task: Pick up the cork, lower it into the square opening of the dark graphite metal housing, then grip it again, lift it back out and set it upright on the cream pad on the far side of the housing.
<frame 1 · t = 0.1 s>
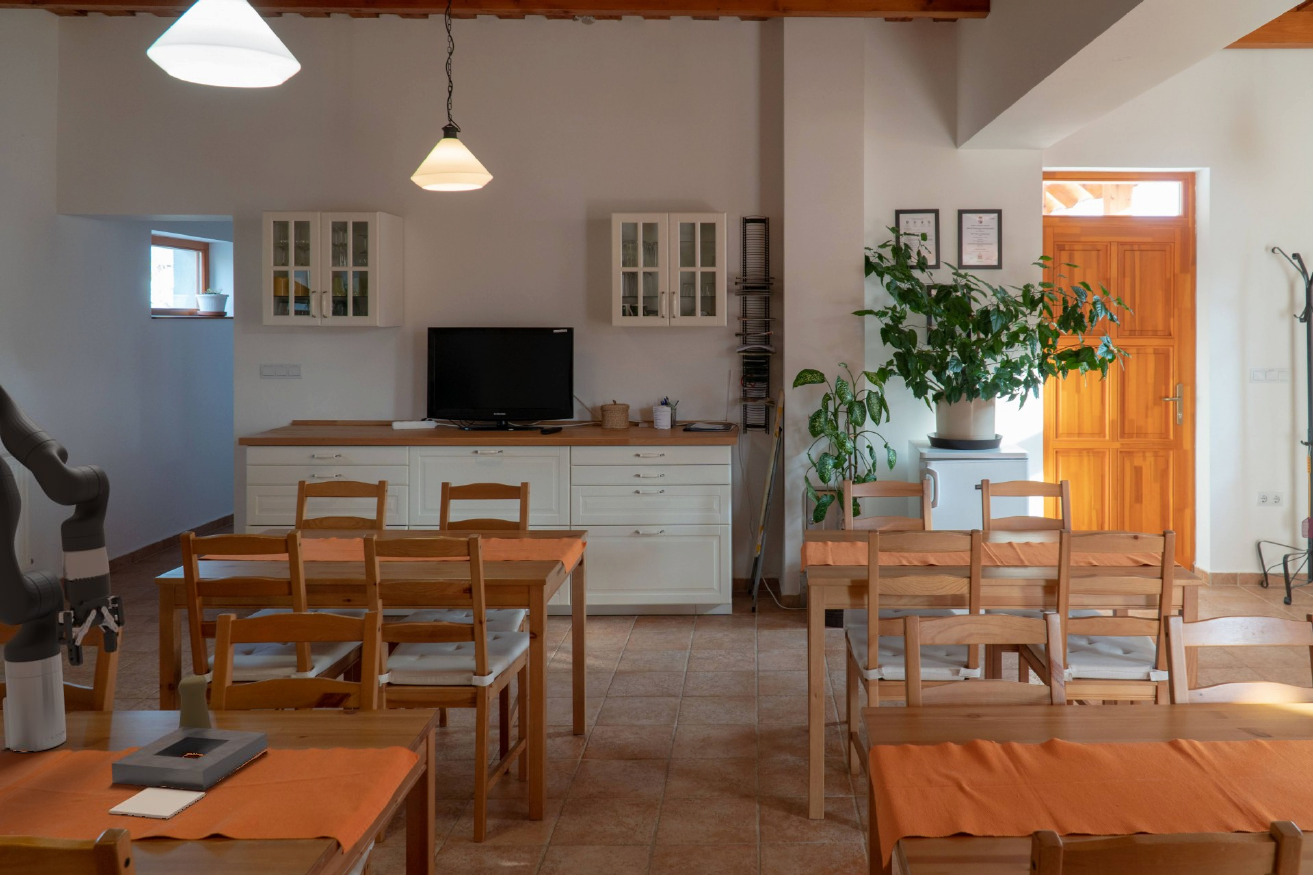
hand: (94, 658, 192), 17 cm above the table, tool pointing down, fingers open, 8 cm apart
housing: (192, 766, 184), on the table
cork: (195, 734, 201), on the table
pad: (158, 804, 168), on the table
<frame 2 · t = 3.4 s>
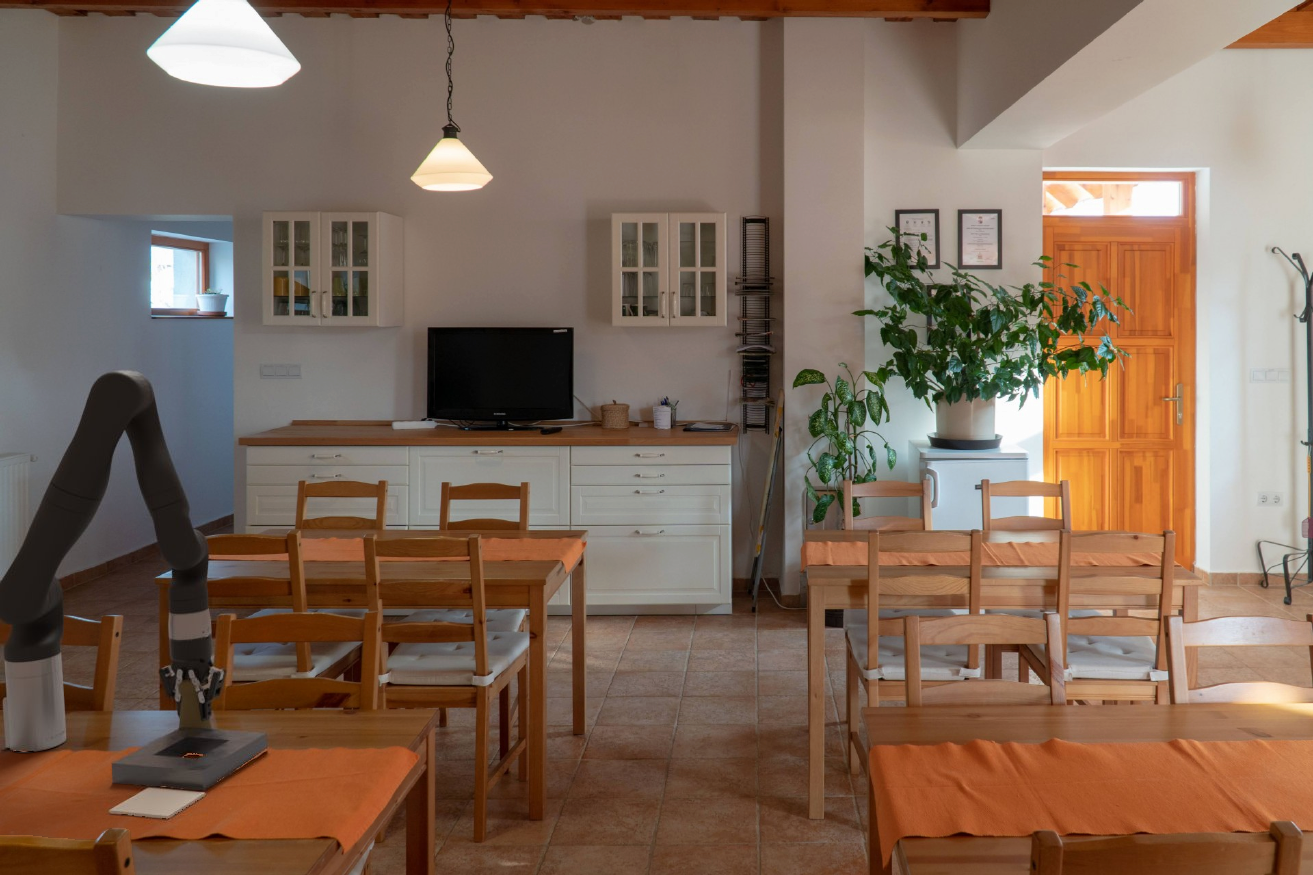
hand: (195, 719, 201), 3 cm above the table, tool pointing down, fingers closed on cork, 4 cm apart
cork: (195, 733, 201), on the table, touching gripper
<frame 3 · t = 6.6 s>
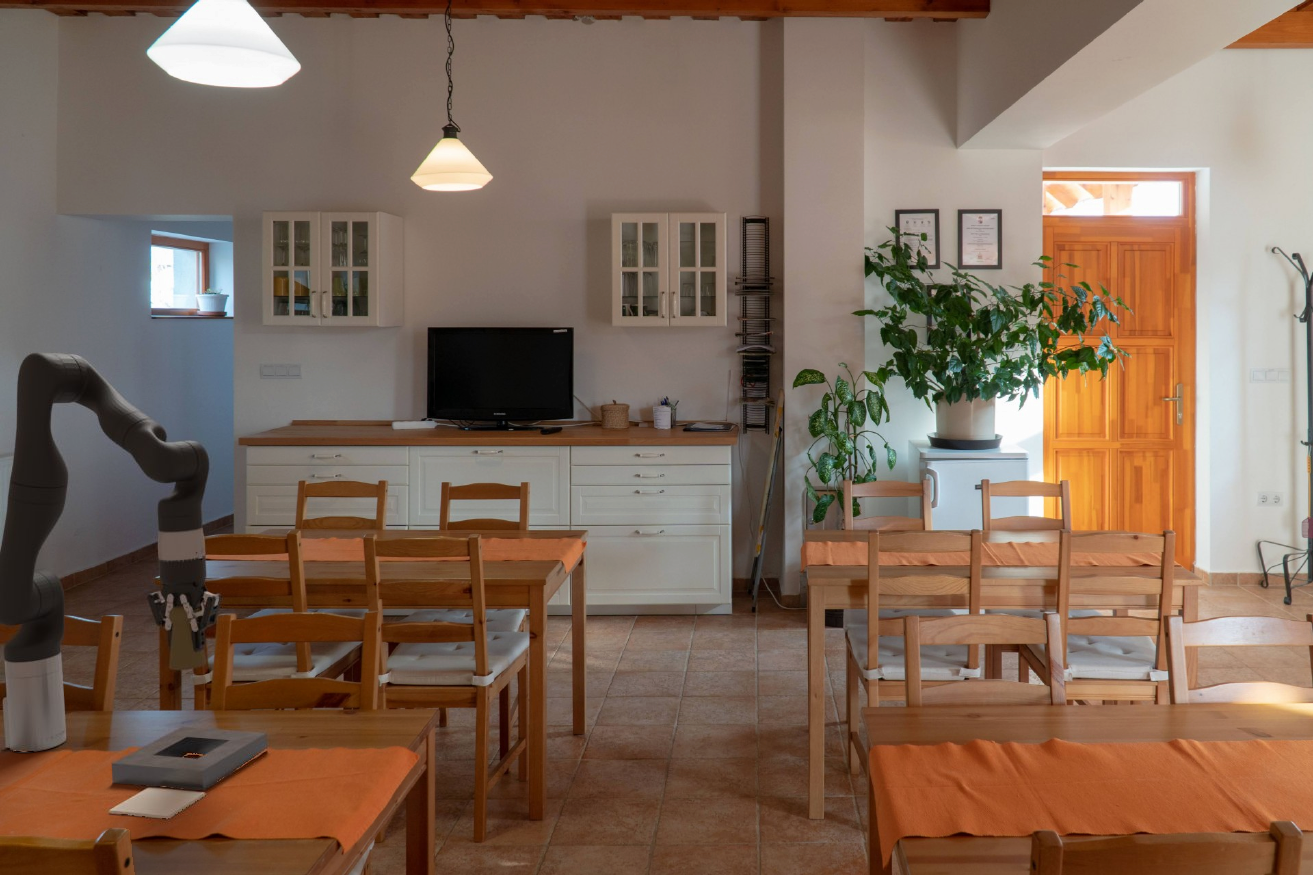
hand: (187, 649, 183), 21 cm above the table, tool pointing down, fingers closed on cork, 4 cm apart
cork: (187, 666, 183), point 18 cm above the table, touching gripper
when the fingers open (5 cm above the table, at t = 10.1 s): cork drops 2 cm, resting in housing.
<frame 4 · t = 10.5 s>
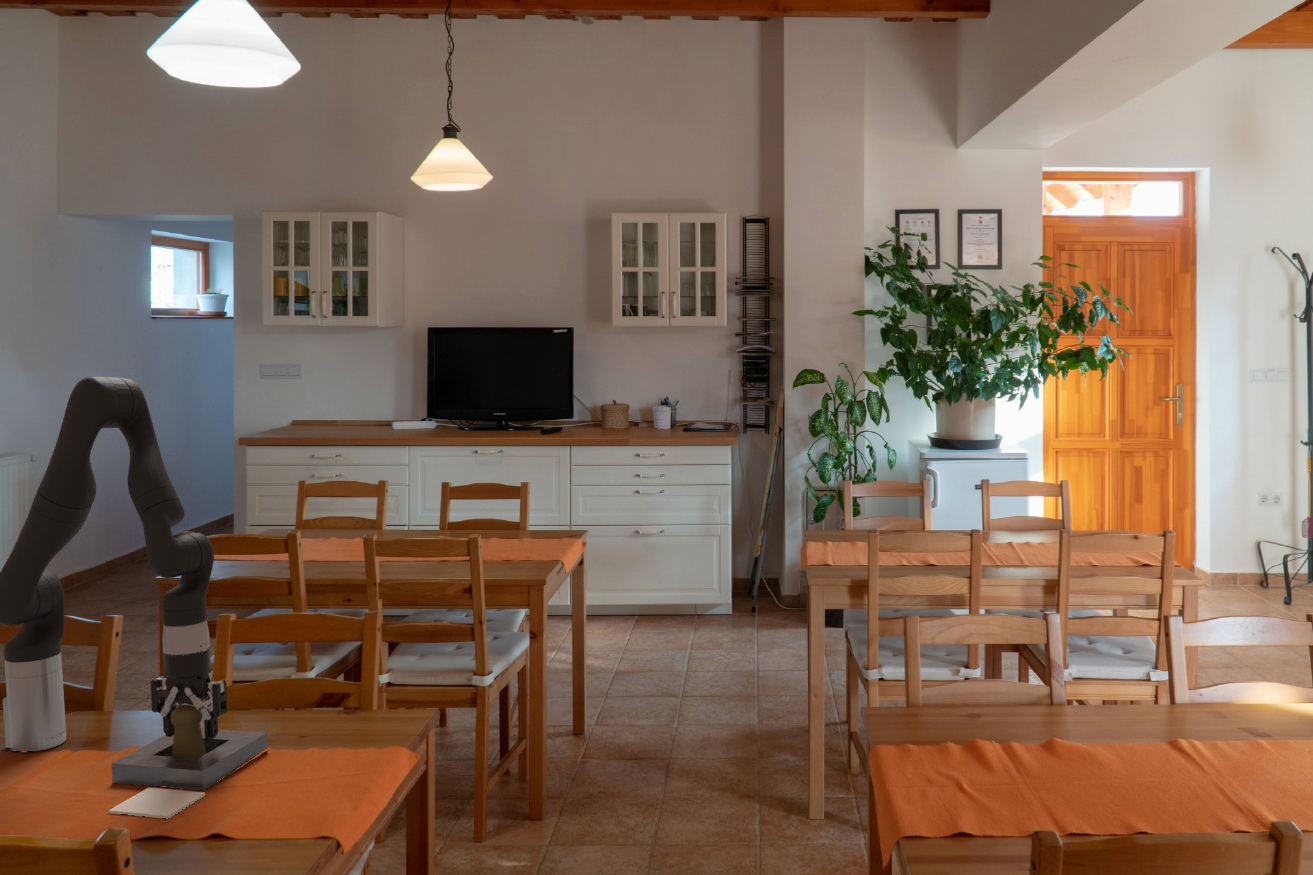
hand: (191, 736, 184), 5 cm above the table, tool pointing down, fingers open, 7 cm apart
cork: (189, 767, 184), resting in housing
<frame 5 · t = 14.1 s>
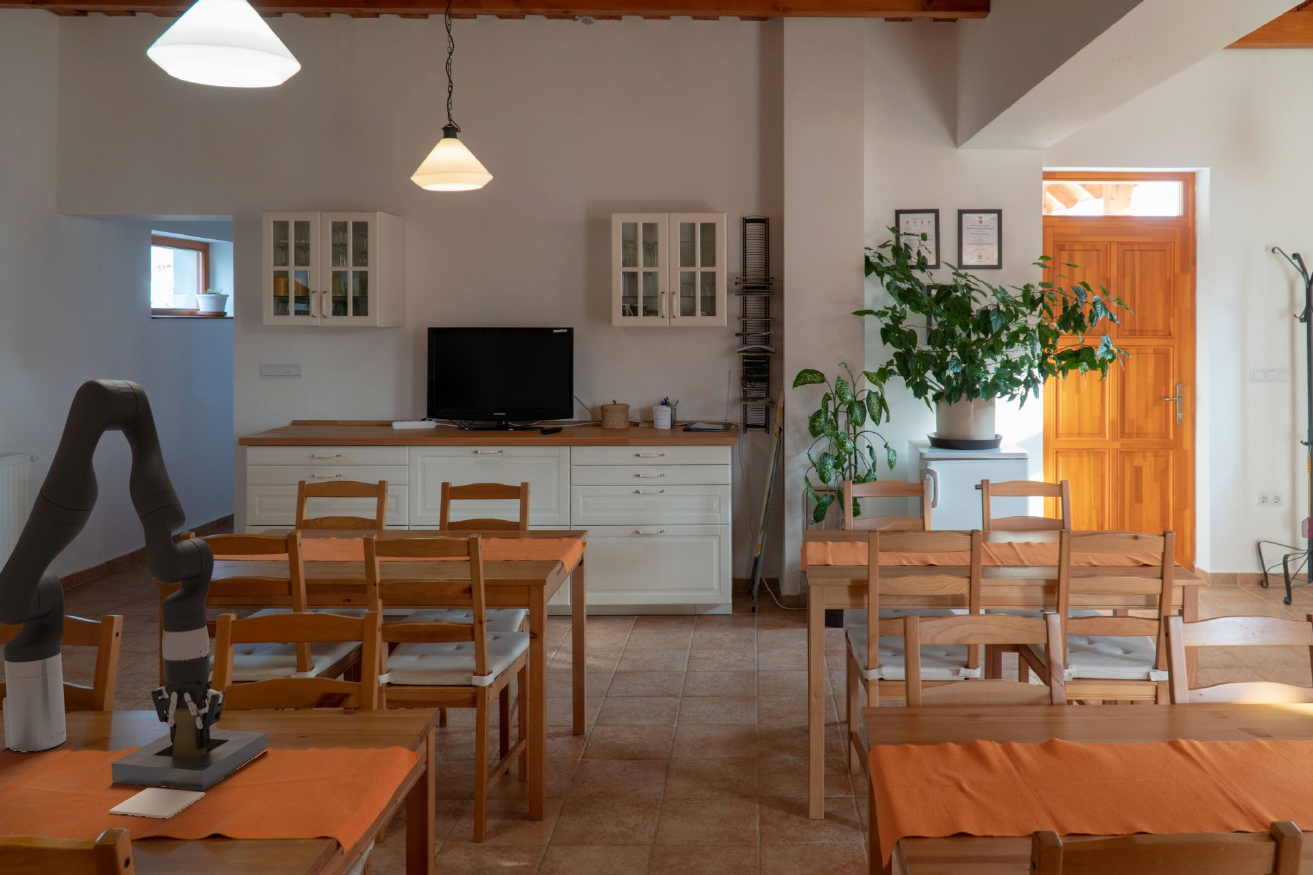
hand: (190, 745, 184), 4 cm above the table, tool pointing down, fingers closed on cork, 4 cm apart
cork: (189, 766, 184), resting in housing, touching gripper
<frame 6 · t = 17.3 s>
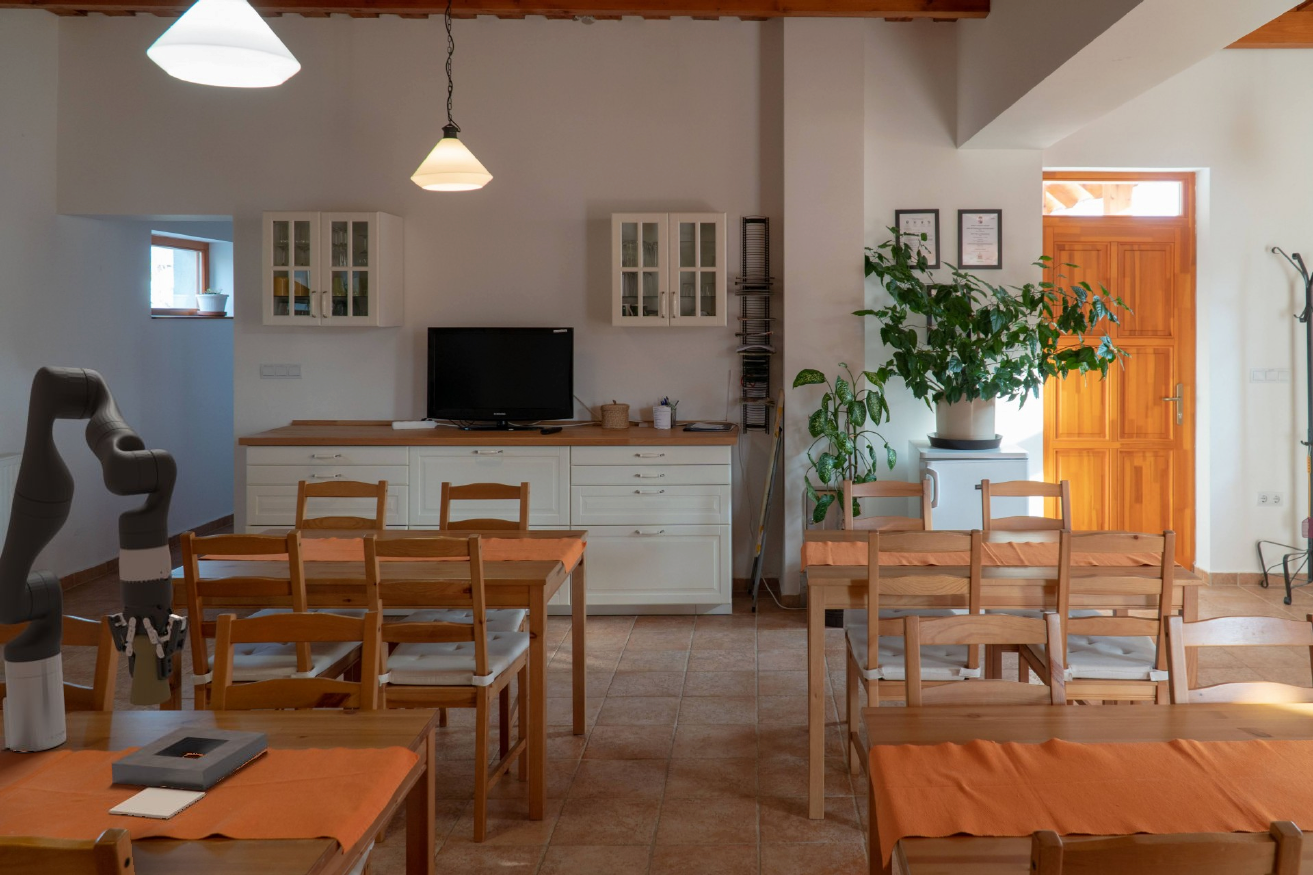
hand: (151, 677, 167), 21 cm above the table, tool pointing down, fingers closed on cork, 4 cm apart
cork: (150, 700, 167), point 17 cm above the table, touching gripper
when the fingers open (6 cm above the table, at t = 20.6 s): cork drops 1 cm, resting on pad.
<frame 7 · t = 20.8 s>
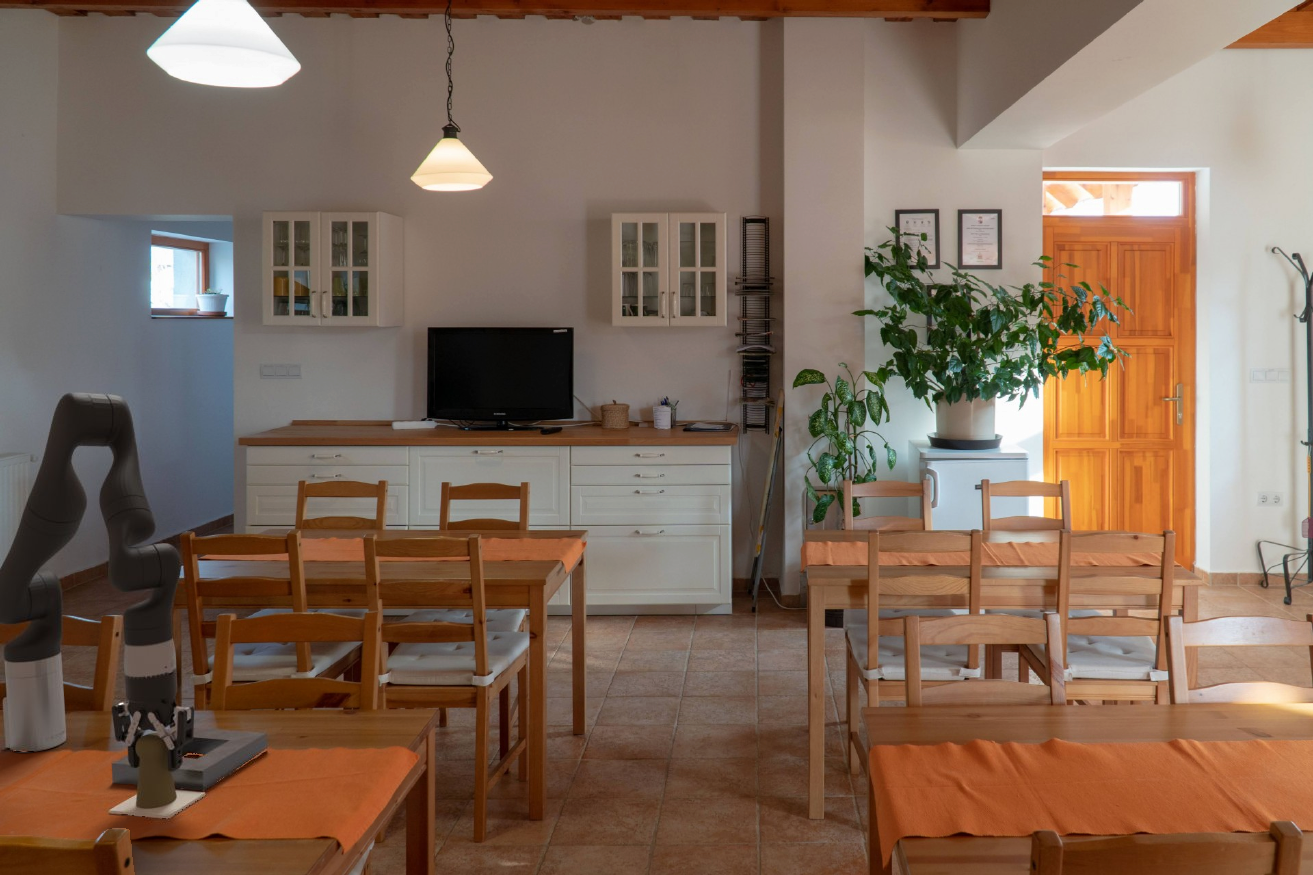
hand: (155, 767, 168), 6 cm above the table, tool pointing down, fingers open, 6 cm apart
cork: (156, 802, 168), resting on pad
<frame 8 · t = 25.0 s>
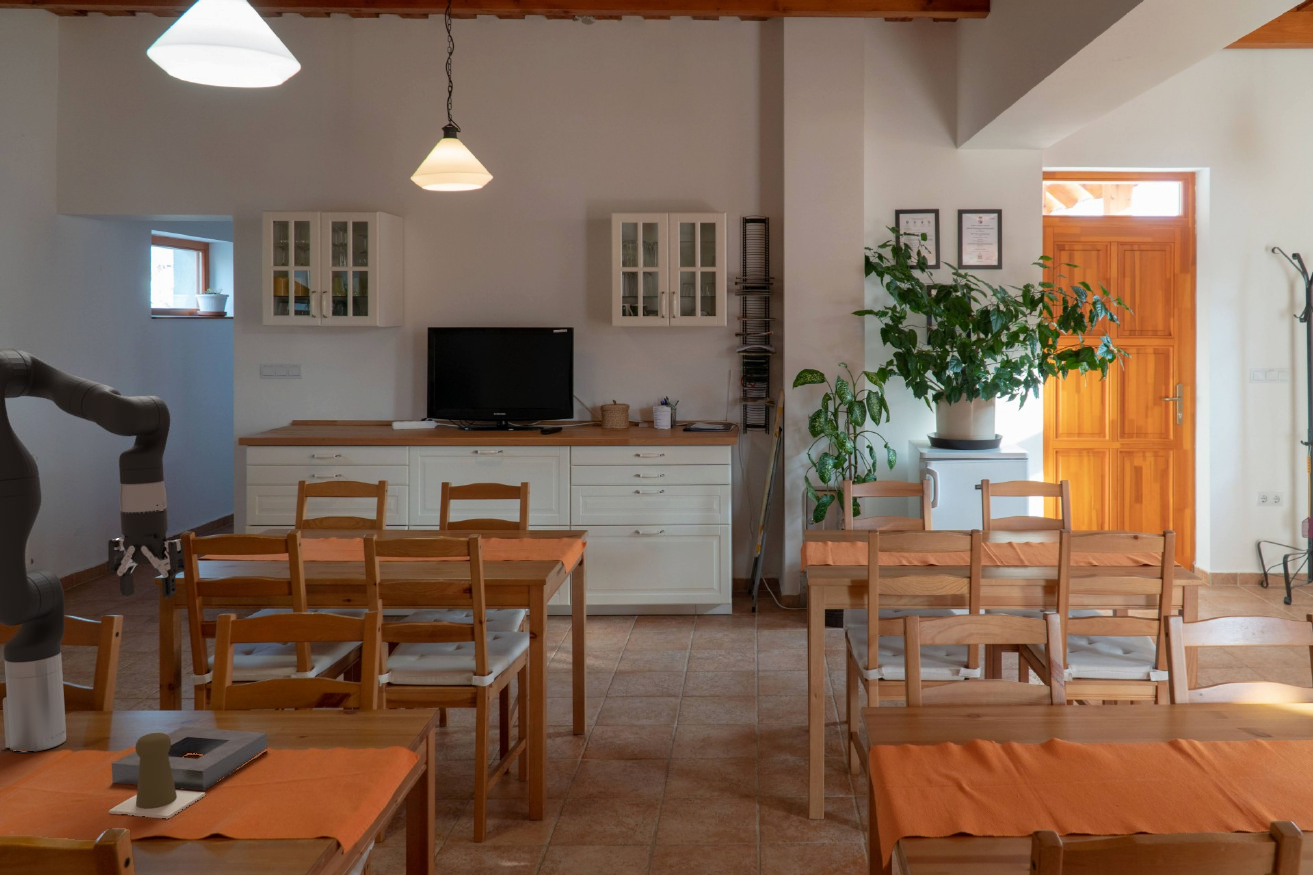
hand: (148, 596, 186), 30 cm above the table, tool pointing down, fingers open, 8 cm apart
nothing on the table moved.
at the end: cork inside the target area on the pad (0.4 cm from its centre), point 0.3 cm above the pad's base; cork tilted 0°; the gripper is holding nothing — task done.
